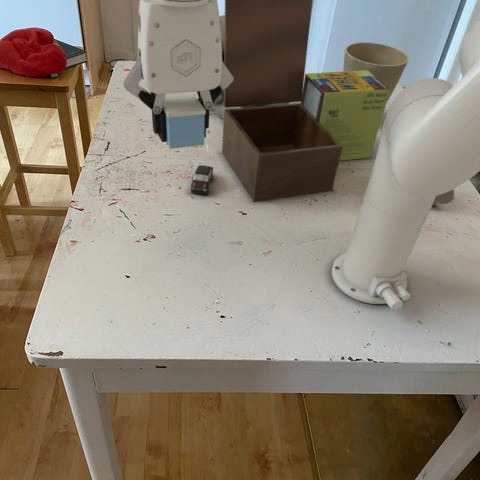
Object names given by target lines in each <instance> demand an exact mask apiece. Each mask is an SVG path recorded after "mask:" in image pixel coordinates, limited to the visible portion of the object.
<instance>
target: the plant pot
mask: <svg viewBox="0 0 480 480" xmlns="http://www.w3.org/2000/svg"><path fill="white" fill-rule="evenodd" d="M343 57H344V58H343V70H342V72H345V71H365V70H367V71H369V72H370V73H371V74H372V75H374V76H375V77H376V78H377V79H378V80H380V81H381V82H382V83H383V84H385V85H386V86H387V87H388V88H390V92H389V96H388V99H387V102H388V101H389V100H390V98H391V96H393V95H392V94H393V93H394V91H395V90H396V87H397V85H398V83H399V82H400V79H401V77H402V75H403V73H404V71H405V68H406V66H407V64H408V63H409V55H407V53H405V51H403V50H401V49H399V48H396V47H394V46H391V45H388V44H383V43H378V42H369V41H361V42H353V43H350V44H348V45H347V46H345V49H344V56H343Z"/></svg>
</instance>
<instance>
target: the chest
mask: <svg viewBox="0 0 480 480" xmlns="http://www.w3.org/2000/svg"><path fill="white" fill-rule="evenodd" d="M222 127H223V129H222V146H221V147H222V148H221V154H222V155H223V157H224V158H225V160H226V162H227V163H228V165H229V166H230V168H231V169H232V171H233V172H234V174H235V175H236V177H237V178H238V180H239V181H240V183H241V185H242V186H243V187H244V189H245V191H246V192H247V194H248V196H249V197H250V199H251V200H252V202H253V203H254V202H255V203H256V202H263V201H268V200H274V199H275V200H276V199H282V198H289V197H297V196H303V195H311V194H318V193H325V192H332V190H333V187H334V183H335V179H336V176H337V171H338V167H339V165H340V164H339V163H340V161H339V160H340V156H341V152H342V148H343V146H342V145H341V144H340V143H339V142H338V141H337V140H336V139H335V138H334V137H333V136H332V135H331V134H330V133H329V132H328V131H327V130H326V129H325V128H324V127H323V126H322V125H321V124H320V123H319V122H318V121H317V120H316V119H315V118H314V117H313V116H312V115H311V114H310V113H309V112H308V111H307V110H306V109H305V108H304V107H303V106H302V105H301V102H297V103H289V104H286V105H274V106H261V107H258V106H251V107H250V106H248V107H243V108H236V109H224V119H223V126H222Z"/></svg>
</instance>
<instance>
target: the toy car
mask: <svg viewBox="0 0 480 480" xmlns="http://www.w3.org/2000/svg"><path fill="white" fill-rule="evenodd" d="M207 134H208V135H207V137H209V134H210V129H208V130H207ZM208 148H209V146H207V147H206V149H208ZM206 155H208V152H206ZM191 179H192V180H191V184H190V192H191V193H195V194H200V195H201V194H202V195H208V194H209V191H210V190H209V189H210V186H211V185H210V184H211V181H213V179H214V167H213V166H209V165H198V166H196V170H195V172H194V175H193V177H192V176H191Z"/></svg>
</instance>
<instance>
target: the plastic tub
mask: <svg viewBox="0 0 480 480" xmlns="http://www.w3.org/2000/svg"><path fill="white" fill-rule="evenodd" d="M163 111H164V113H165V115H166V134H167V141H166V142H165V143H166V145H167V147H168V148H169V150H173V149H179V148H180V149H182V148H190V147H191V148H192V147H198V146H199V147H200V146H204V145H205V137H204V120H205V114H206V110H205V109H204V107H203V106H202V105H201V103H200V102H199V101H198V97H197V96H196V95H195V93H194V92H183V93H171V94H166V95H165V99H164V103H163Z"/></svg>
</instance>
